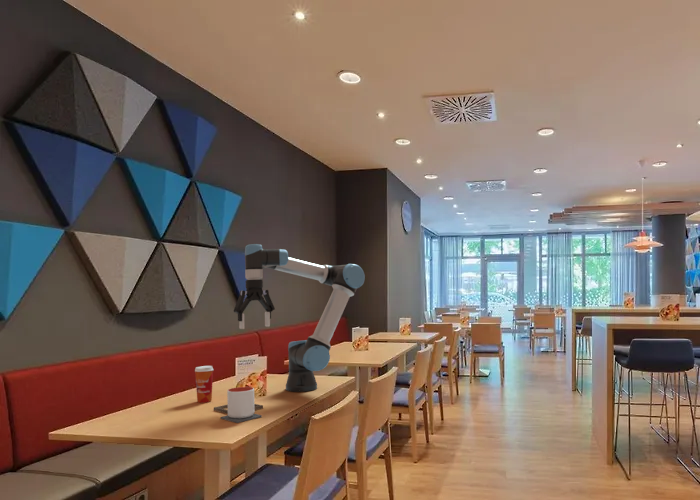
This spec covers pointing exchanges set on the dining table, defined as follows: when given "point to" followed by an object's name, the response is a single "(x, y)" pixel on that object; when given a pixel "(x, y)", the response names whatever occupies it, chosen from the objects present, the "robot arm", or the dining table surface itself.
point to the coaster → (241, 418)
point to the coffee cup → (204, 383)
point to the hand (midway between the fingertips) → (255, 327)
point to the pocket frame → (223, 410)
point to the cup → (240, 402)
